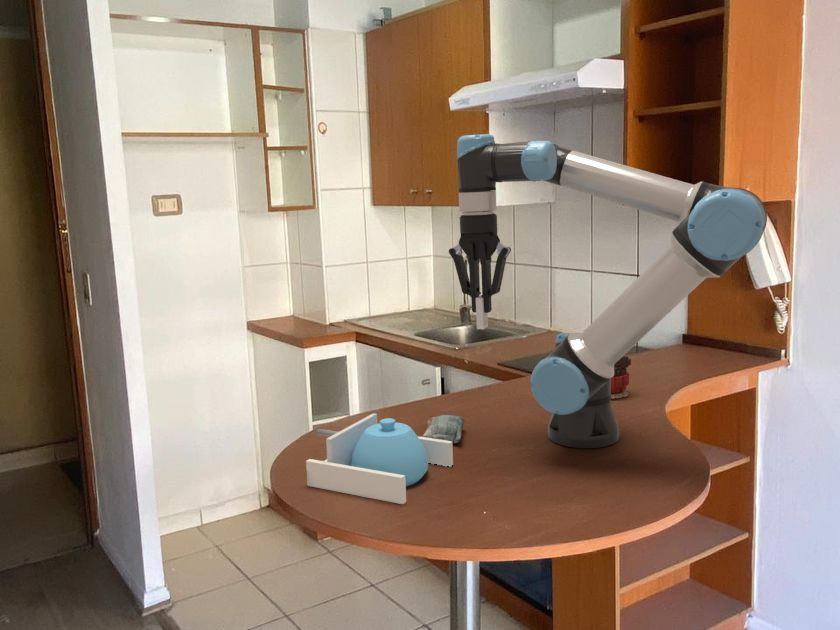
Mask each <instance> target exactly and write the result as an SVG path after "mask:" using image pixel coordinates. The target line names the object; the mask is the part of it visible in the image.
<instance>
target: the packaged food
mask: <svg viewBox="0 0 840 630" xmlns="http://www.w3.org/2000/svg"><path fill="white" fill-rule="evenodd" d="M426 424H427V428H426V430H425V432H424V434H422V435H420V437H426V438H433V439H440V440H447V441H452V444H458V443H459V442H460V441H461V439H462V434H463V433H462V432H463V429H464V424H465V418H464V417H462V416H458V415H454V414H441V415H438V416H432V417H431V418H429V420H426Z"/></svg>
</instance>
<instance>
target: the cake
mask: <svg viewBox="0 0 840 630" xmlns="http://www.w3.org/2000/svg"><path fill="white" fill-rule="evenodd" d="M631 365H632V359H630V358H629V355H628V356H627V355H624V356H623V357H622V358H621V359H620V360H618V361H617V362H616V363H615V364H614V376H613V377H612V378H611V399H612V400H614V399H621V398H622V397H623V398H626V397H627V396H628V395H629V393H630V392H629V390H628V389H627V387H628V385H629V384H630V374H629V372H628V371H627V368H628V367H629V366H631Z"/></svg>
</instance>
